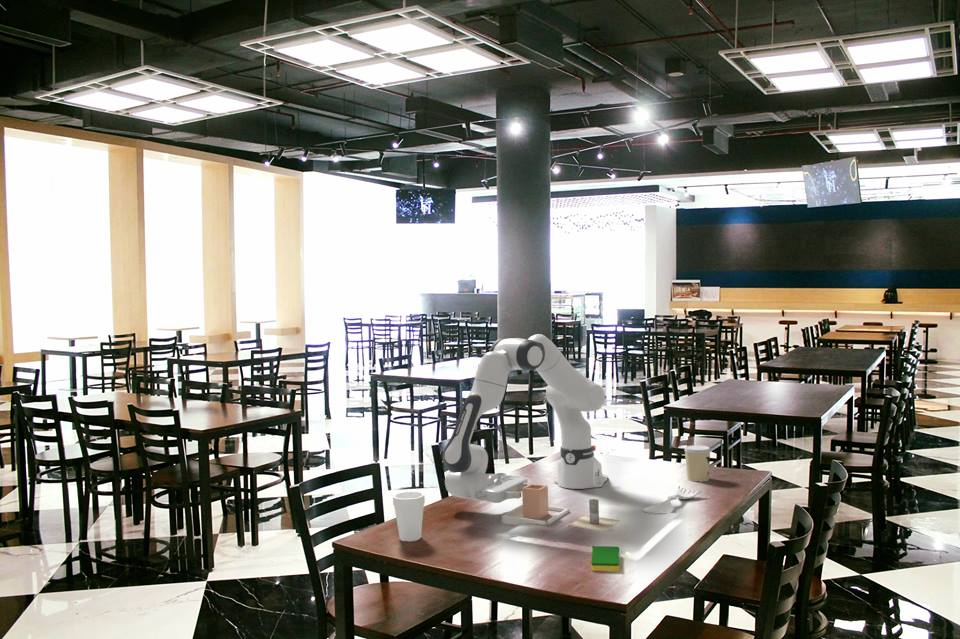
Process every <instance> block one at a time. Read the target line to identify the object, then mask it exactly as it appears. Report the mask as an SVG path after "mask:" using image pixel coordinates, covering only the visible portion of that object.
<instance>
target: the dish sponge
mask: <svg viewBox="0 0 960 639" xmlns="http://www.w3.org/2000/svg"><path fill="white" fill-rule="evenodd" d="M591 550H592V552H591V560H590V561H591V564H590V565H591V571H592V572H620V546H610V545H607V546H606V545H603V546H602V545H601V546H600V545H592V549H591Z"/></svg>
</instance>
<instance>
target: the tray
mask: <svg viewBox="0 0 960 639" xmlns="http://www.w3.org/2000/svg"><path fill="white" fill-rule="evenodd" d="M548 511H554V512H559V513H557V514H555V515H553V516H552V517H550V518H549V519H547V520H540V519H536V518H531V519H528V518H523V504H520V505H519V506H517V507H516V508H513V509H512V510H509V511H508V512H506V513H504V514H502V515H501V525H508V526H515V527H516V526H517V527H518V526H520V525H522V524H524V523H527V524H528V523H529V524H535V525H541V526H542V525H543V526H549V525H551V524H552V523H553V522H555V521H557V520H559V519H560V518H562V517H563V516H565V515H566V514H568V513H570V508H569V507H568V508H567V507H560V506H559V507H558V506H551V505H548Z"/></svg>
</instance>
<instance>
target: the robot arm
mask: <svg viewBox="0 0 960 639" xmlns="http://www.w3.org/2000/svg"><path fill="white" fill-rule="evenodd" d="M512 370H515V371H518V370H519V371H526V372H527V371H533V370H535V371H536V372H537V373H538V375H539V376H540V378H541V379H542V380H543V381H544V382H545V383H546V384H547V386H546V389H545V398H546V401H547V402H548V404H549V405H551V407H552V408H553V410H554V412H555V414H556V417H557V419H558V422H559V428H560V440H561V446H560V459H558V461H557V474H556V475H557V476H556V477H557V478H555V479H554V482H553V483H556V484H557V485H558V486H559V487H562V488H563V489H565V488H566V489H570V490H571V489H572V490H575V489H576V490H580V489H582V490H583V489H591V488H602V487H603V486H604V485H605V483H606V482H607V480H608V479H609V475H607V474H603V470H602V463H601V462H600V461H599V460H598V459H597V458H596V457H595V453H594V451H596V450H597V447H596V445H592V428H591V425H590V422H588V421H587V420H586V419H585V417H584V416H583V413H582V412H586V413H587V412H594V411H599V410H600V409H601V408H602V407H603V406H604V404H605V400H606V394H605V391H604V388H603V387H602V386H601V385H599V384H598V383H595V382H593V381H592V380H591V379H589V378H587V376H585V375H584V374H582V373H581V372H580V371H579V370H578V369H576V368H575V367H574V366H572V364H571V363H570V362H569V361H568V359H567V358H566V357H565V355H564V354H563V353H562V352H561V350H560V349H559V347H557V346H556V344H554V342H553V341H552V340H551V339H549V338H548V337H547V336H545V335H544V334H541V333H537V334H533V335H531V336H529V337H528V338H527V339H525V338H521V337H513V338H512V337H511V338H509V337H502V338H499V339H496V340H495V341H494V342H493V343H492V345H491V346H490V348H489V351H488V352H486V353H484V355H483V356H482V357H481V360H480V361H479V365H478V367H477V370H476V372H475V376H474V380H473V382H472V383H473V384H472V387H471V389H470V392H469V394H468V396H467V397H466V399H465V400H464V402H463V405H462V407H461V410H460V412H459V415H458V418H457V420H456V423H455V426H454V430H453V432H452V434H451V437H450V439H449V441H448V442H447V444H446V445H445V446H444V449H443V451H442V463H443V465H444V467H445V469H447V471H448V472H447V473H446V474H445V478H444V485H445V489H446V491H447V492H448V493H449V494H450V495H451V496H453V497H456V498H457V497H458V498H461V499H467V500H468V499H469V500H471V499H476V500H478V501H482V502H484V501H485V502H490V503H492V504H493V503H495V504H496V503H497V504H498V503H503V502H504V501H506V500H510V499H511V500H513V499H518V500H519V499H520V498H522V493H521V492H522V488H523V487H525V486H527V485H529V484H530V483H528V479H527V478H525V477H523V476H518V475H511V474H510V475H509V474H508V475H507V473H506V472H498V473H486V472H487V469H488V464H489V454H488V452H487V450H486V449H485V448H484V446H481V445H478V444H474V443H471V440H472V437H473V434H474V431H475V429H476V425H477V422H478V420H479V419H480V417H481V416H483V415H484V414H485V413H486V412H489V411H491V410H494V409H496V408H498V407H499V405H500V404H501V402H502V401H503V400H504V395H505V392H506V388H507V383H508V378H509V374H510V373H511V371H512ZM607 478H608V479H607ZM605 481H606V482H605ZM604 482H605V483H604Z"/></svg>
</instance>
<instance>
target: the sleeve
mask: <svg viewBox="0 0 960 639" xmlns="http://www.w3.org/2000/svg"><path fill="white" fill-rule="evenodd" d="M528 484H529V485H527V486H525V487H523V488H522V493H521V498H522V505H523V518H528V519H535V520H540V519H542V518H545V517H546V516H548V515H549V510H548V506H549V491H548V488H549V487H548V485H547V484H546V485H545V484H535V483H528Z"/></svg>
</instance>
